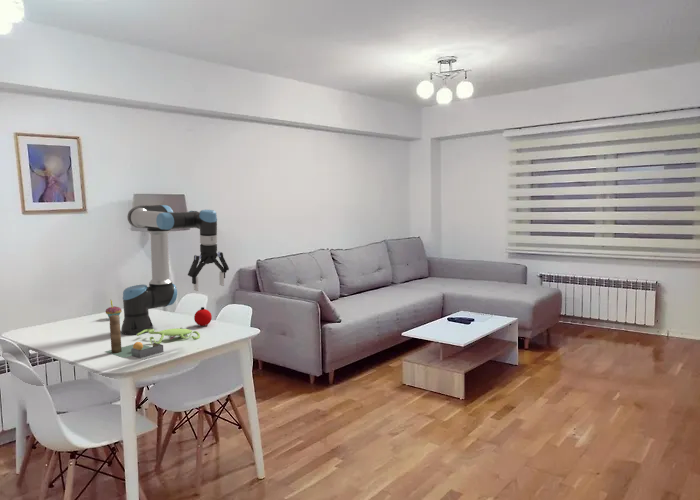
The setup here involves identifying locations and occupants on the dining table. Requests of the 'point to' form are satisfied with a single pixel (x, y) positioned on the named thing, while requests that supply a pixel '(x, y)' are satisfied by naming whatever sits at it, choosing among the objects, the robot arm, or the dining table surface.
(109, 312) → the cupcake
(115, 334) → the peg
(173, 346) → the dining table surface
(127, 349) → the mat
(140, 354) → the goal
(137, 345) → the ball
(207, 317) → the ornament
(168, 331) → the figurine
